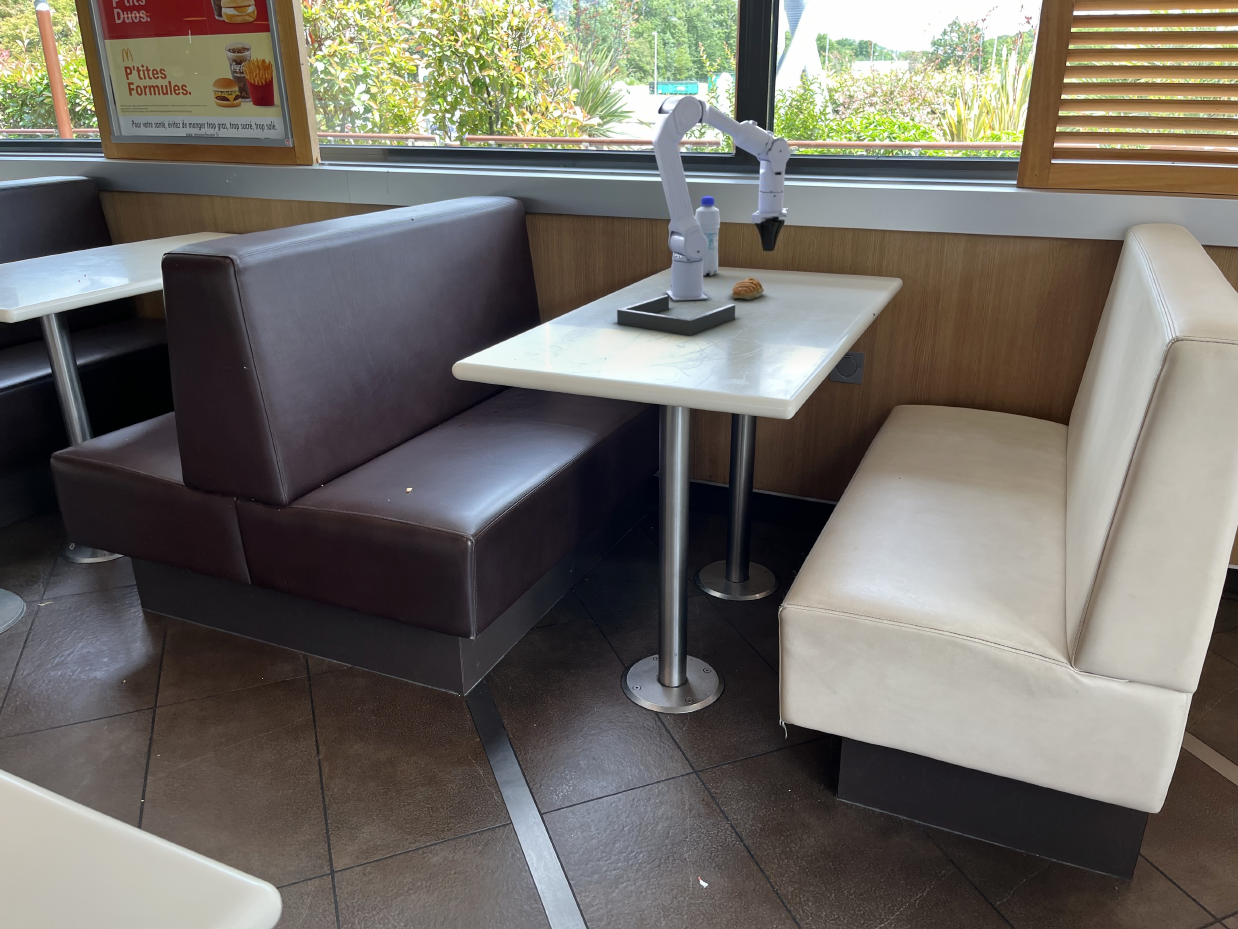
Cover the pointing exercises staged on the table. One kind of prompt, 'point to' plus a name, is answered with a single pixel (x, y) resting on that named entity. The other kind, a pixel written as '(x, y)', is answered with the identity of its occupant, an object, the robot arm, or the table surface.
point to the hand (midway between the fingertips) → (768, 250)
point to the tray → (647, 318)
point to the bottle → (709, 233)
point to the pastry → (747, 289)
